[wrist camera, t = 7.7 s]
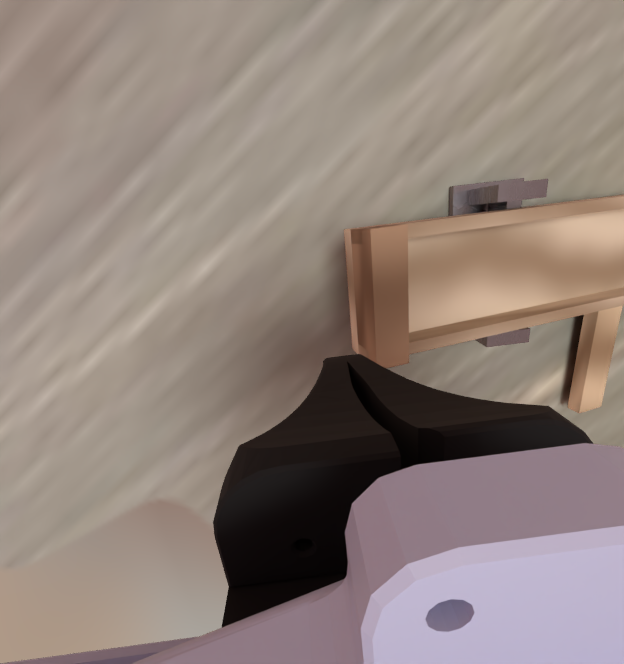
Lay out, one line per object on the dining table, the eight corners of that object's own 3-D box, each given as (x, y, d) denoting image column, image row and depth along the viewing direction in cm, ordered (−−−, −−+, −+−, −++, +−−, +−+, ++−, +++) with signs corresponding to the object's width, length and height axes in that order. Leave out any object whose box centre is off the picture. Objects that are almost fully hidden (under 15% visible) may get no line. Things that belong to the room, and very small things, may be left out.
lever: (588, 401, 23) (634, 421, 21) (361, 471, 19) (383, 507, 17) (630, 193, 19) (695, 187, 16) (344, 229, 15) (370, 229, 12)
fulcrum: (504, 326, 21) (541, 345, 18) (445, 333, 21) (472, 353, 18) (518, 179, 18) (565, 170, 15) (449, 187, 18) (482, 179, 15)
